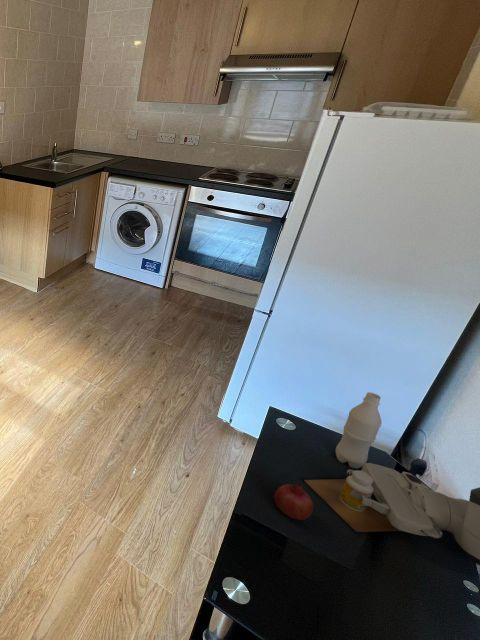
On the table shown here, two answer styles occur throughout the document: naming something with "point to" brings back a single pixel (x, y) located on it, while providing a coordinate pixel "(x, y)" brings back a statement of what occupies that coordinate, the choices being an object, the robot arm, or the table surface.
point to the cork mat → (355, 519)
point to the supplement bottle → (356, 490)
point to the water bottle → (360, 432)
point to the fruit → (294, 501)
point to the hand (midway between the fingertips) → (354, 485)
